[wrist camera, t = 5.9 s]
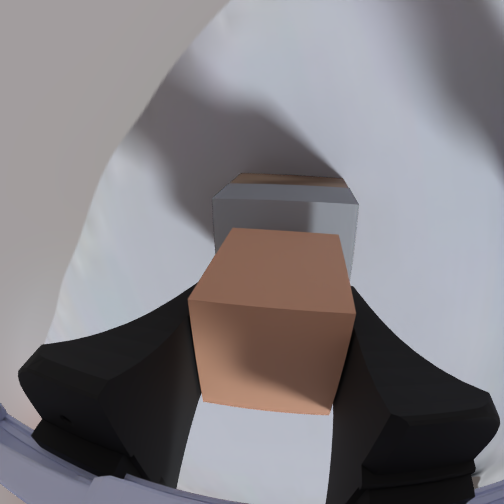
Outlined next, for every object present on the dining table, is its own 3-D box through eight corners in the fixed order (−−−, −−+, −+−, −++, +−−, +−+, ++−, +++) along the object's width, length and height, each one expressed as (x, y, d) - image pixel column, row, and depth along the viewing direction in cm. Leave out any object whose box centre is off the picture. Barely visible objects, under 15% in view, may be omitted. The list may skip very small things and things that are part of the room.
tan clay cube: (338, 234, 11) (356, 313, 7) (326, 321, 13) (329, 415, 9) (232, 227, 12) (187, 299, 7) (234, 313, 14) (203, 401, 9)
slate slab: (349, 188, 15) (358, 204, 12) (338, 293, 17) (342, 326, 14) (228, 183, 16) (211, 198, 13) (233, 286, 18) (220, 317, 15)
